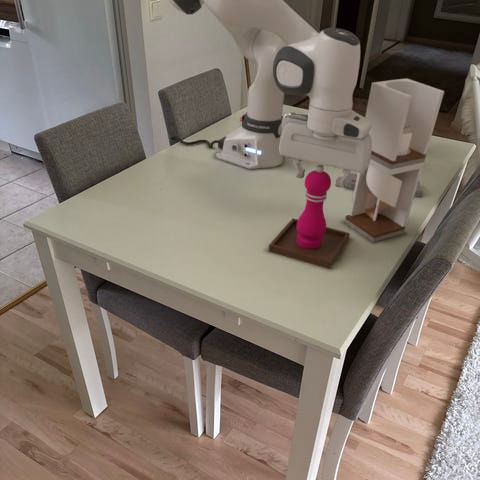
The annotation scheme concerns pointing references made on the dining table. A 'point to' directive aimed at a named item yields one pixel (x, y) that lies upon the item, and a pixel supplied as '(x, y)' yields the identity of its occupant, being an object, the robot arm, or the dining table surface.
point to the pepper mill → (313, 209)
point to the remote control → (351, 178)
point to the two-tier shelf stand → (393, 156)
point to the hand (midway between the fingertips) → (319, 181)
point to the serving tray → (319, 256)
